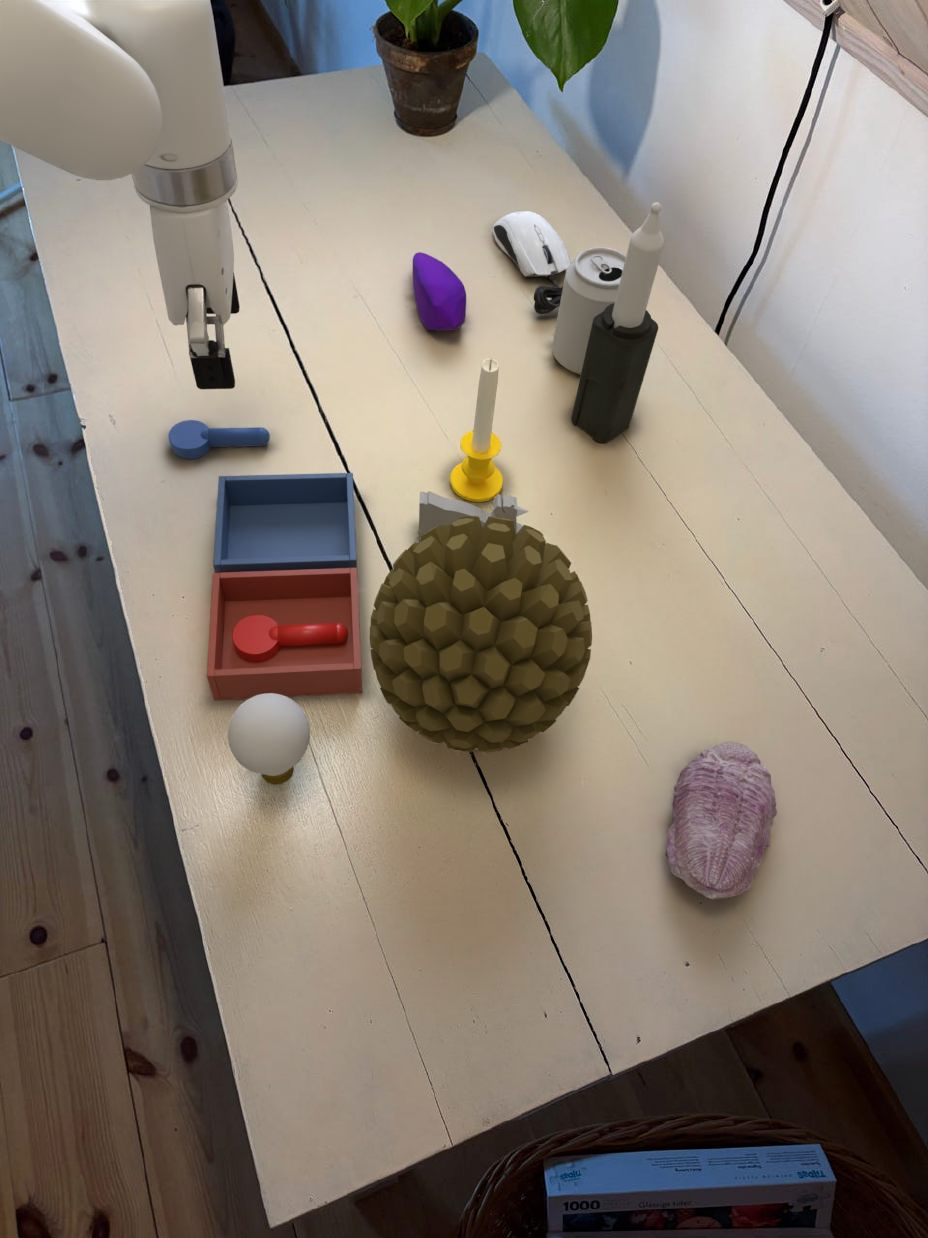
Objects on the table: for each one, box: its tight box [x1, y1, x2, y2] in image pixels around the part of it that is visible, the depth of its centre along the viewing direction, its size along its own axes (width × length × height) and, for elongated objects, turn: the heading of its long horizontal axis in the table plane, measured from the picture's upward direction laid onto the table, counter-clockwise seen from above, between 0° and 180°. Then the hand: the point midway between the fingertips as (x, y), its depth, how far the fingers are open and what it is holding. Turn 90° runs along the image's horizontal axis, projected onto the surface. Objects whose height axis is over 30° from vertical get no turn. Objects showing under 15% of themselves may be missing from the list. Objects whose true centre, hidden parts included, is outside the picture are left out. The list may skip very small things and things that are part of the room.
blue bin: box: [212, 472, 358, 573], centre depth 86 cm, size 12×10×4 cm
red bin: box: [206, 567, 363, 701], centre depth 80 cm, size 12×10×4 cm
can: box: [551, 246, 627, 376], centre depth 100 cm, size 8×8×12 cm
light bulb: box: [227, 693, 311, 786], centre depth 71 cm, size 6×6×10 cm
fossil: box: [665, 741, 778, 901], centre depth 73 cm, size 8×14×5 cm, turn 159°
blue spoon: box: [168, 419, 271, 460], centre depth 93 cm, size 10×4×2 cm, turn 96°
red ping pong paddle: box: [232, 615, 348, 662], centre depth 80 cm, size 10×4×2 cm, turn 96°
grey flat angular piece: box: [418, 490, 530, 543], centre depth 87 cm, size 6×1×10 cm
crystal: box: [412, 251, 467, 332], centre depth 106 cm, size 5×5×15 cm
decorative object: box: [369, 516, 593, 754], centre depth 71 cm, size 17×17×20 cm
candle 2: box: [570, 201, 665, 444], centre depth 89 cm, size 5×5×25 cm
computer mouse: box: [492, 210, 572, 315], centre depth 111 cm, size 10×18×4 cm, turn 26°
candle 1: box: [449, 357, 504, 503], centre depth 87 cm, size 5×5×16 cm
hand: (219, 347), depth 84 cm, fingers open, 9 cm apart
